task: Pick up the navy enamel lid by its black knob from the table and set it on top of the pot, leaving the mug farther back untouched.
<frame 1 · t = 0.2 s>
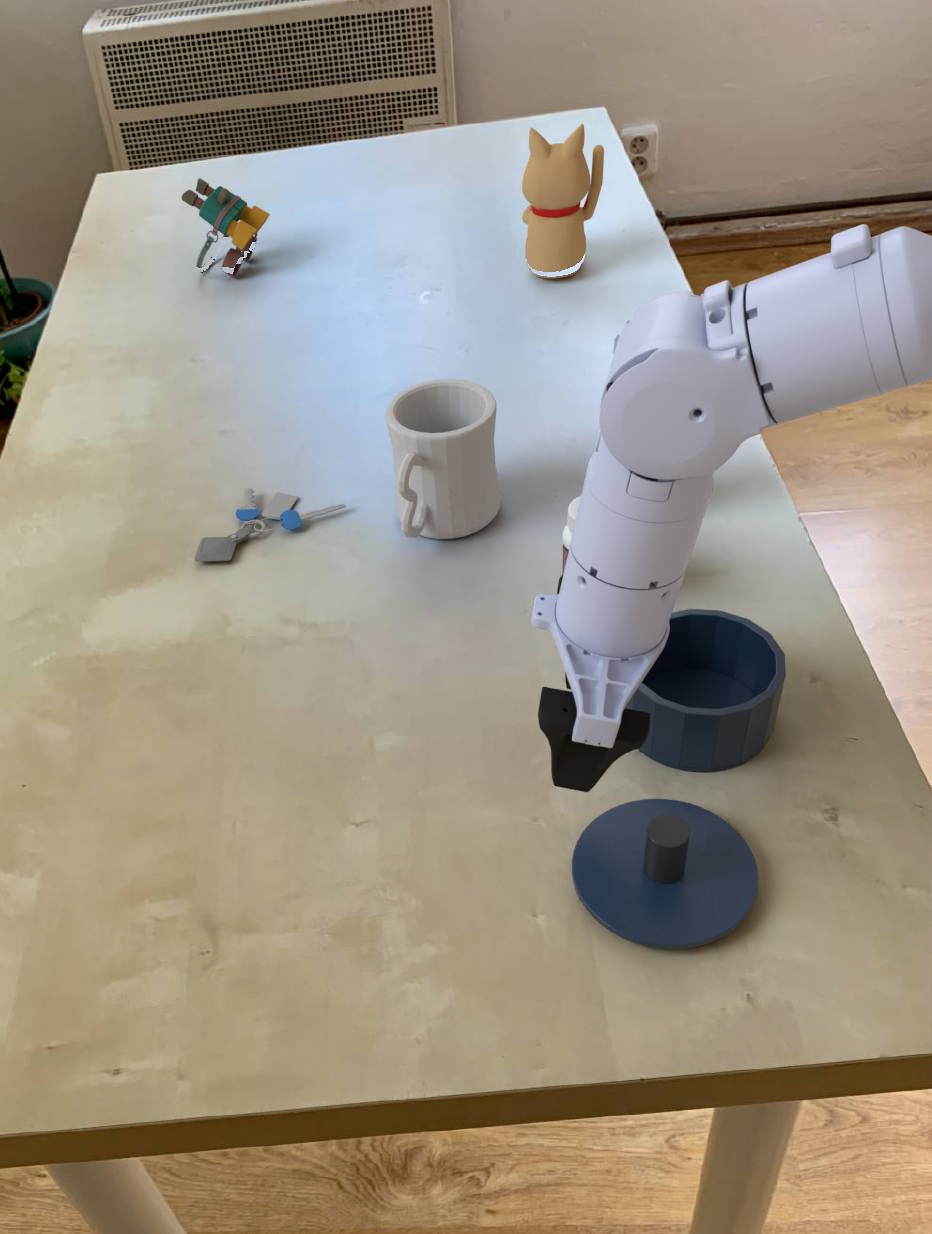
hand: (577, 734, 63), 8 cm above the table, tool pointing down, fingers open, 7 cm apart
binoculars: (238, 270, 133), on the table
pill bottle: (592, 600, 84), on the table
pot: (695, 717, 75), on the table
beverage can: (646, 509, 91), on the table
lid: (662, 872, 66), point 1 cm above the table
figurine: (560, 268, 123), on the table
key chain: (257, 522, 96), on the table
mug: (440, 524, 93), on the table
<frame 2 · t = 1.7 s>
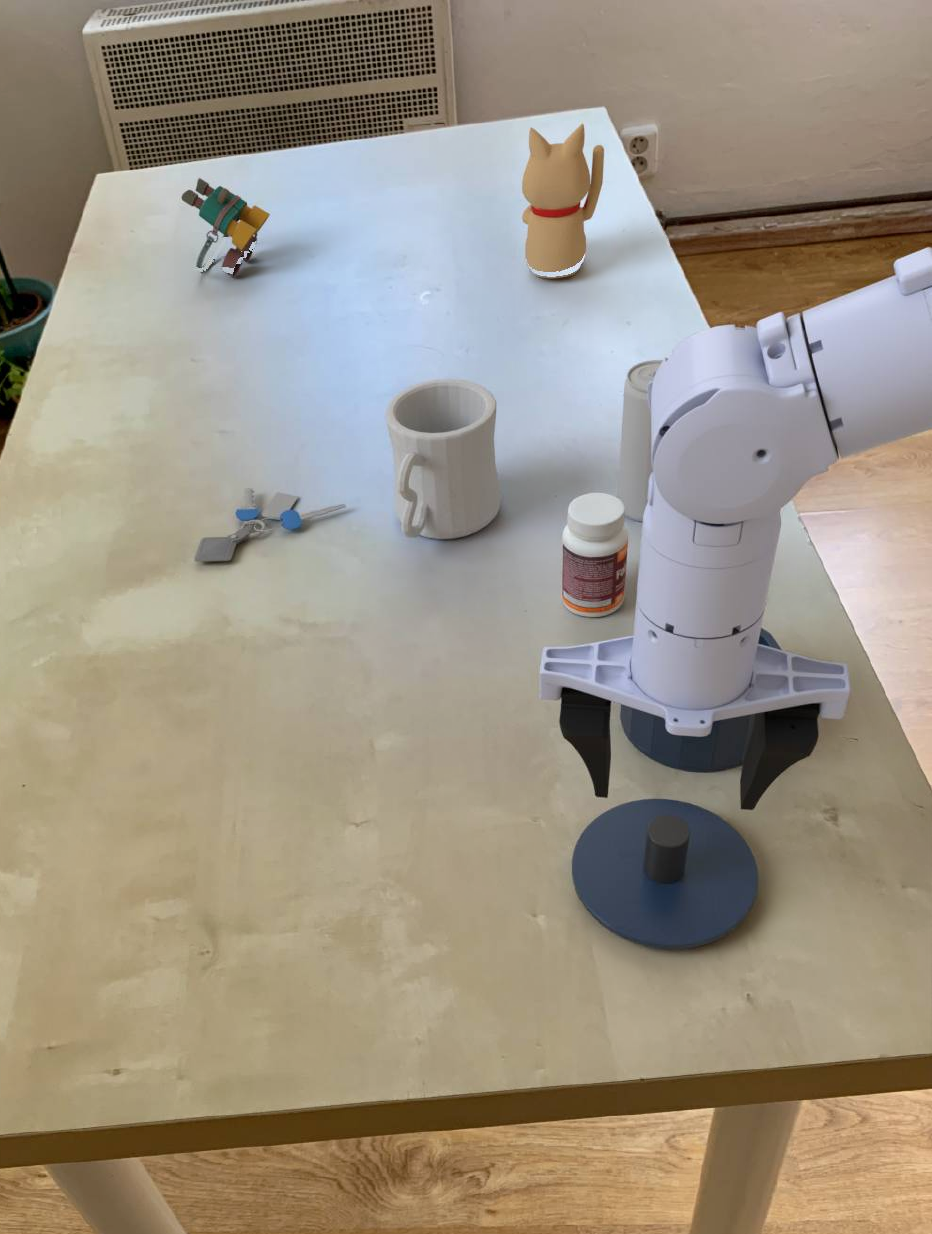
hand: (673, 789, 60), 8 cm above the table, tool pointing down, fingers open, 7 cm apart
nothing on the table moved.
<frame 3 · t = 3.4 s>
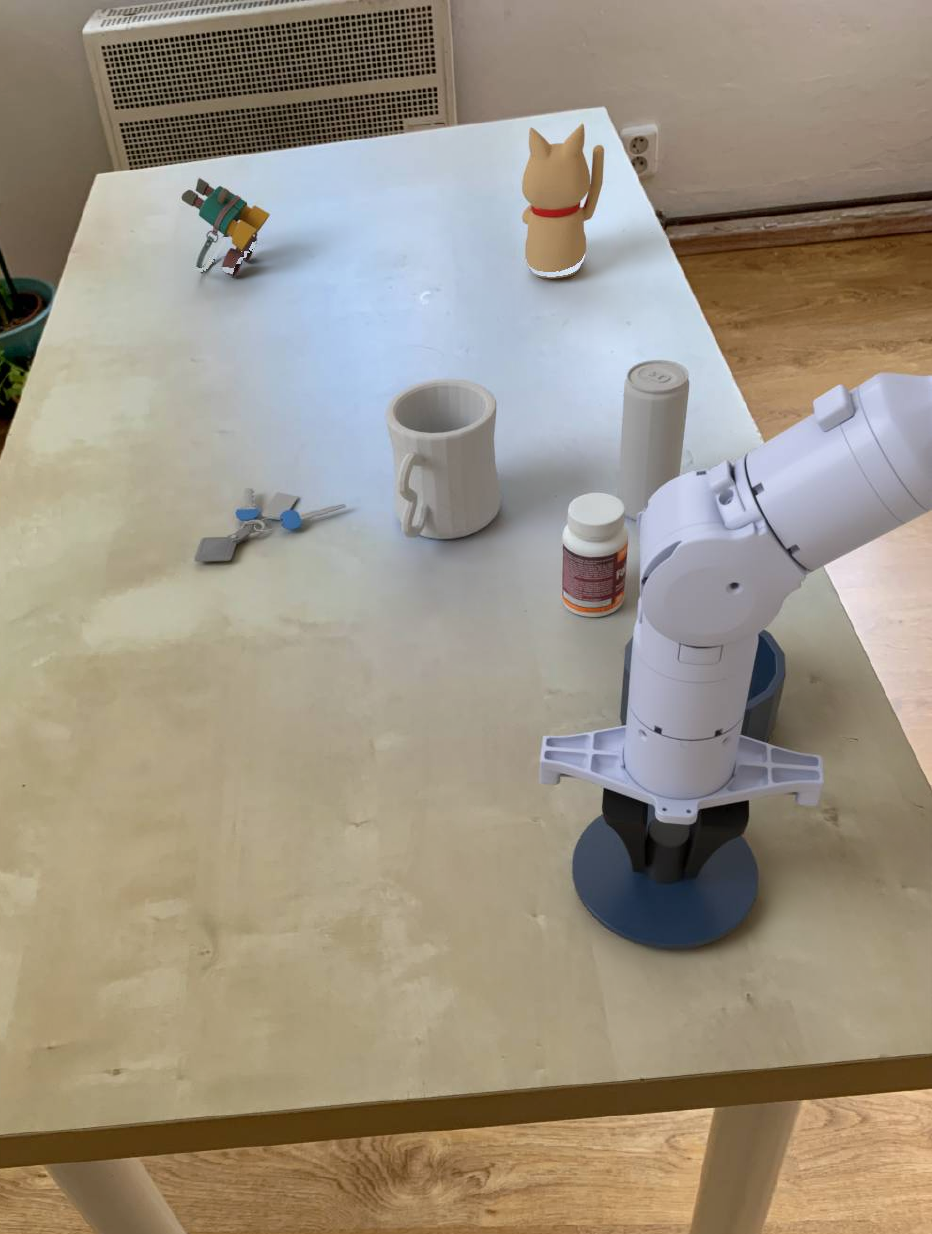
hand: (664, 861, 65), 2 cm above the table, tool pointing down, fingers closed on lid, 2 cm apart
lid: (663, 872, 66), point 1 cm above the table, touching gripper
everything else where it was.
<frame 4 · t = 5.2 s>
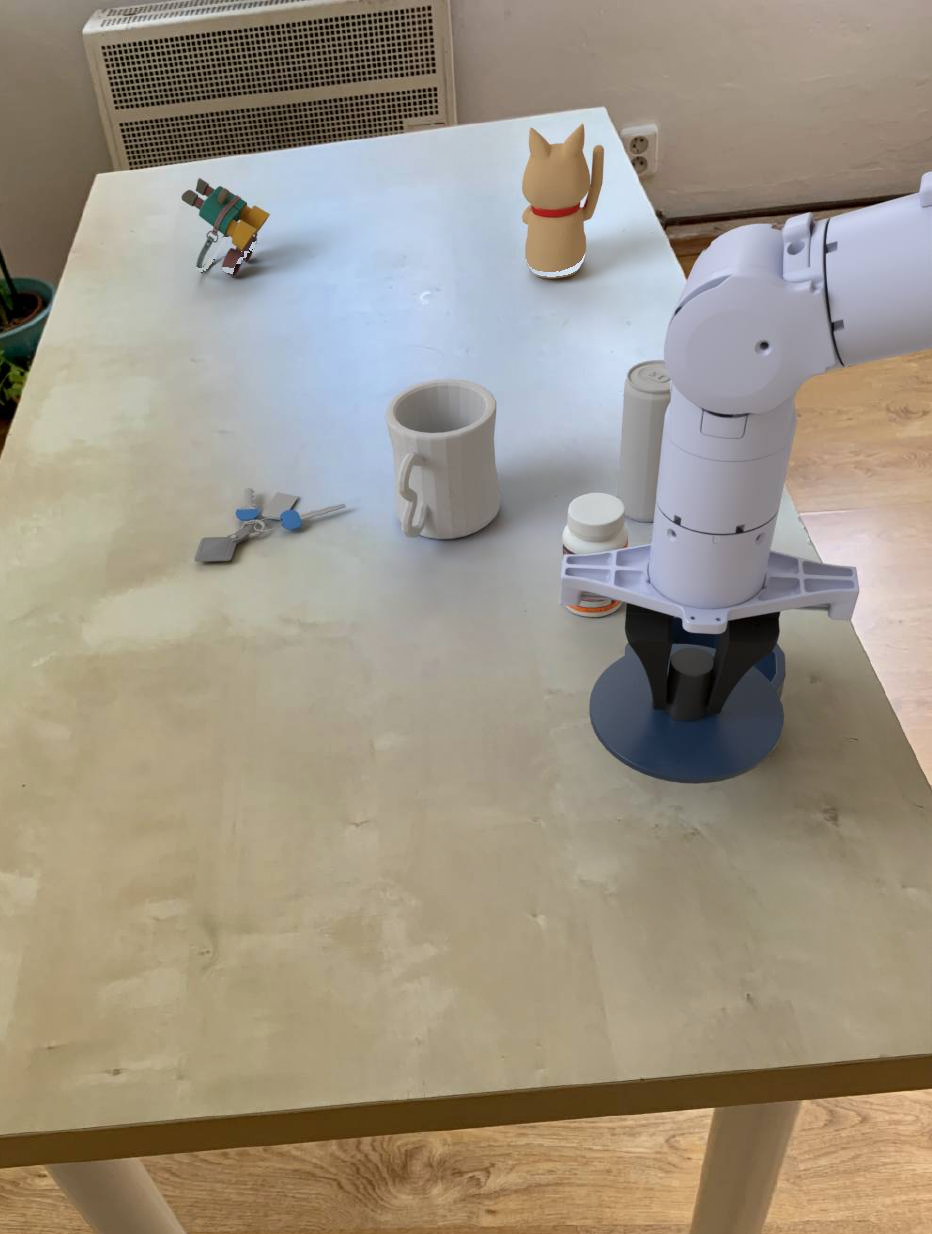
hand: (685, 699, 62), 10 cm above the table, tool pointing down, fingers closed on lid, 2 cm apart
lid: (684, 713, 63), point 9 cm above the table, touching gripper
everything else where it was.
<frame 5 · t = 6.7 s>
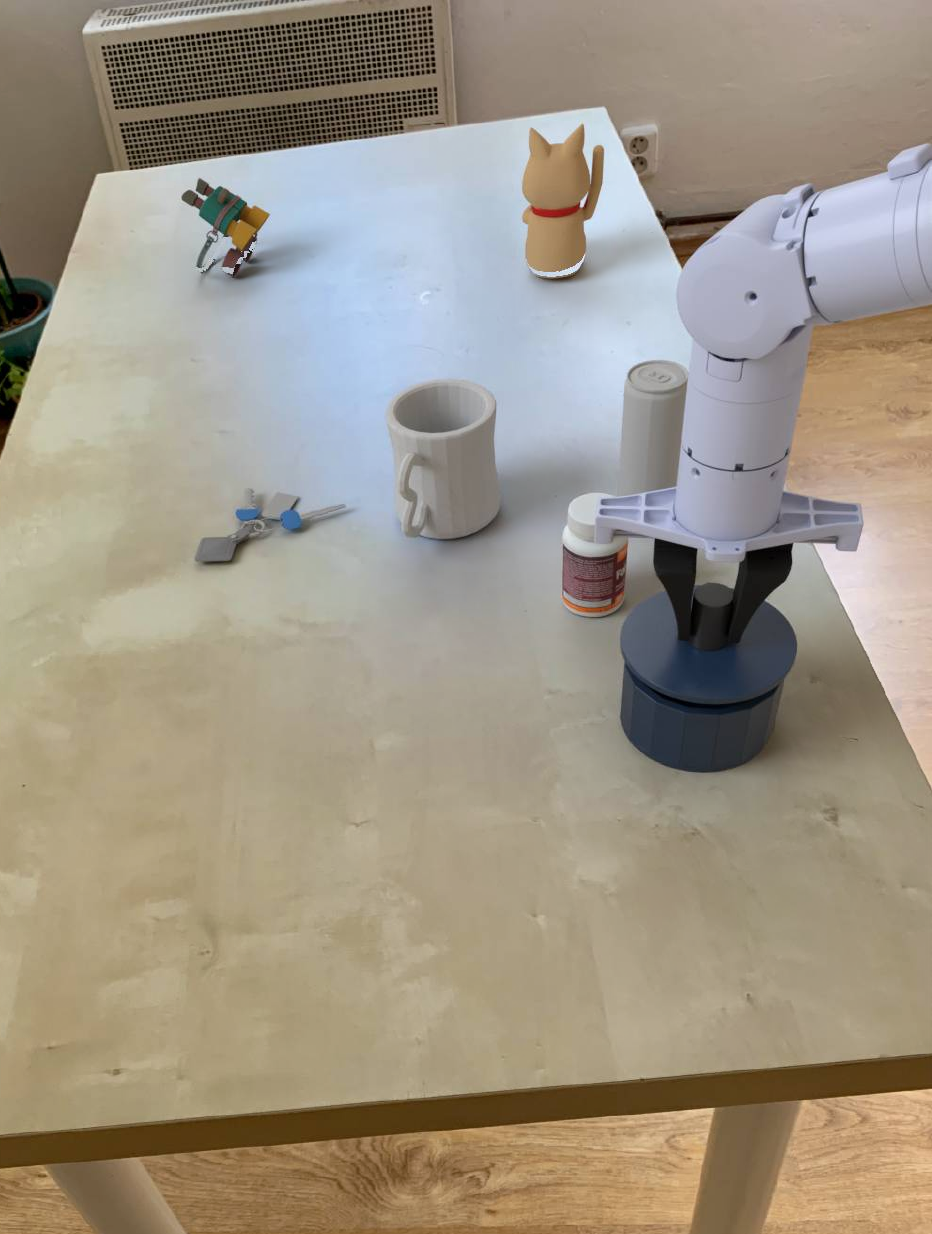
hand: (707, 631, 69), 8 cm above the table, tool pointing down, fingers closed on lid, 2 cm apart
lid: (706, 644, 70), point 7 cm above the table, touching gripper
everything else where it was.
when the fingers open (6 cm above the table, at t = 7.4 s): lid stays where it is, resting on pot.
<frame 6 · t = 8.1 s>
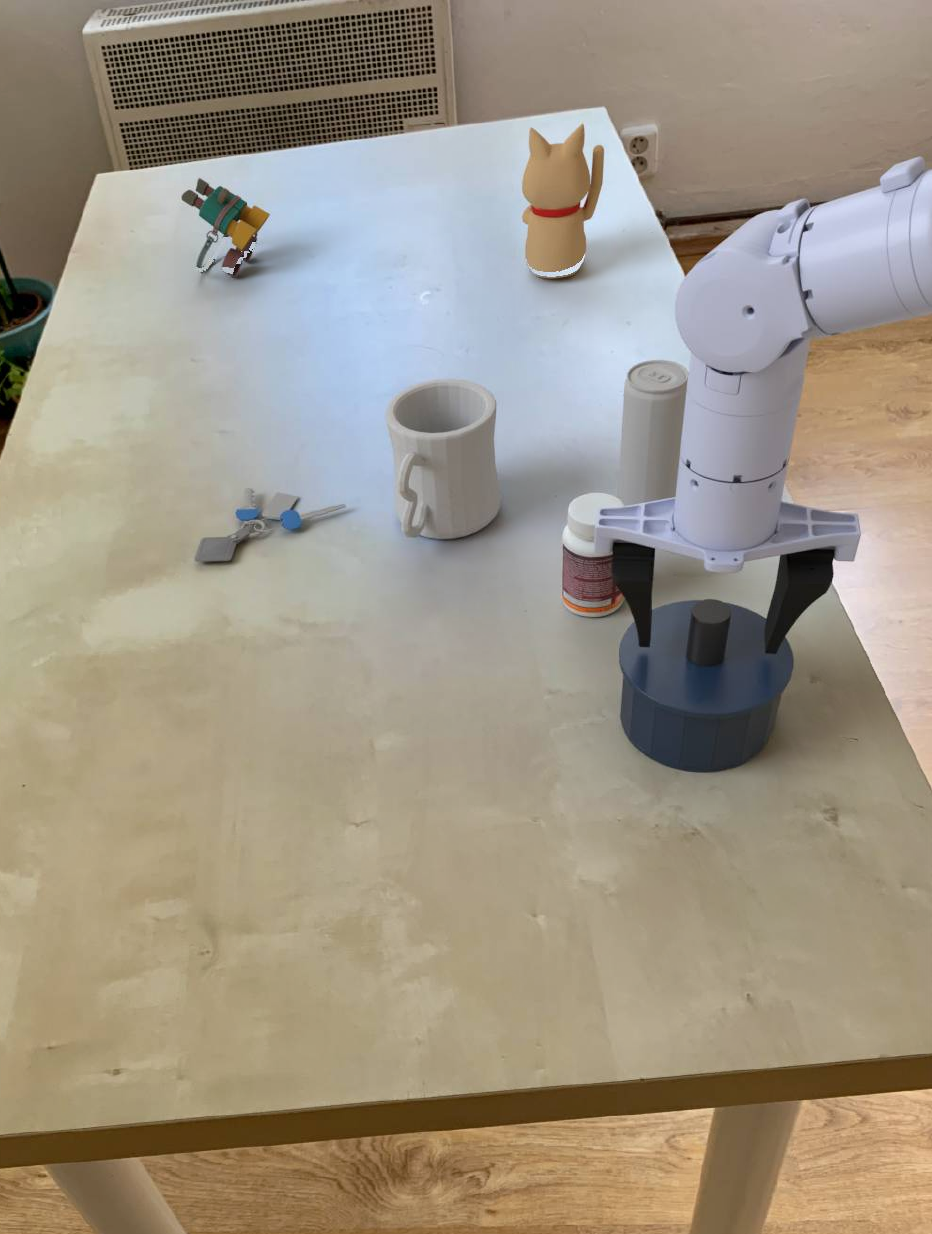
hand: (706, 640, 69), 7 cm above the table, tool pointing down, fingers open, 7 cm apart
lid: (704, 659, 71), point 5 cm above the table, touching pot
everything else where it was.
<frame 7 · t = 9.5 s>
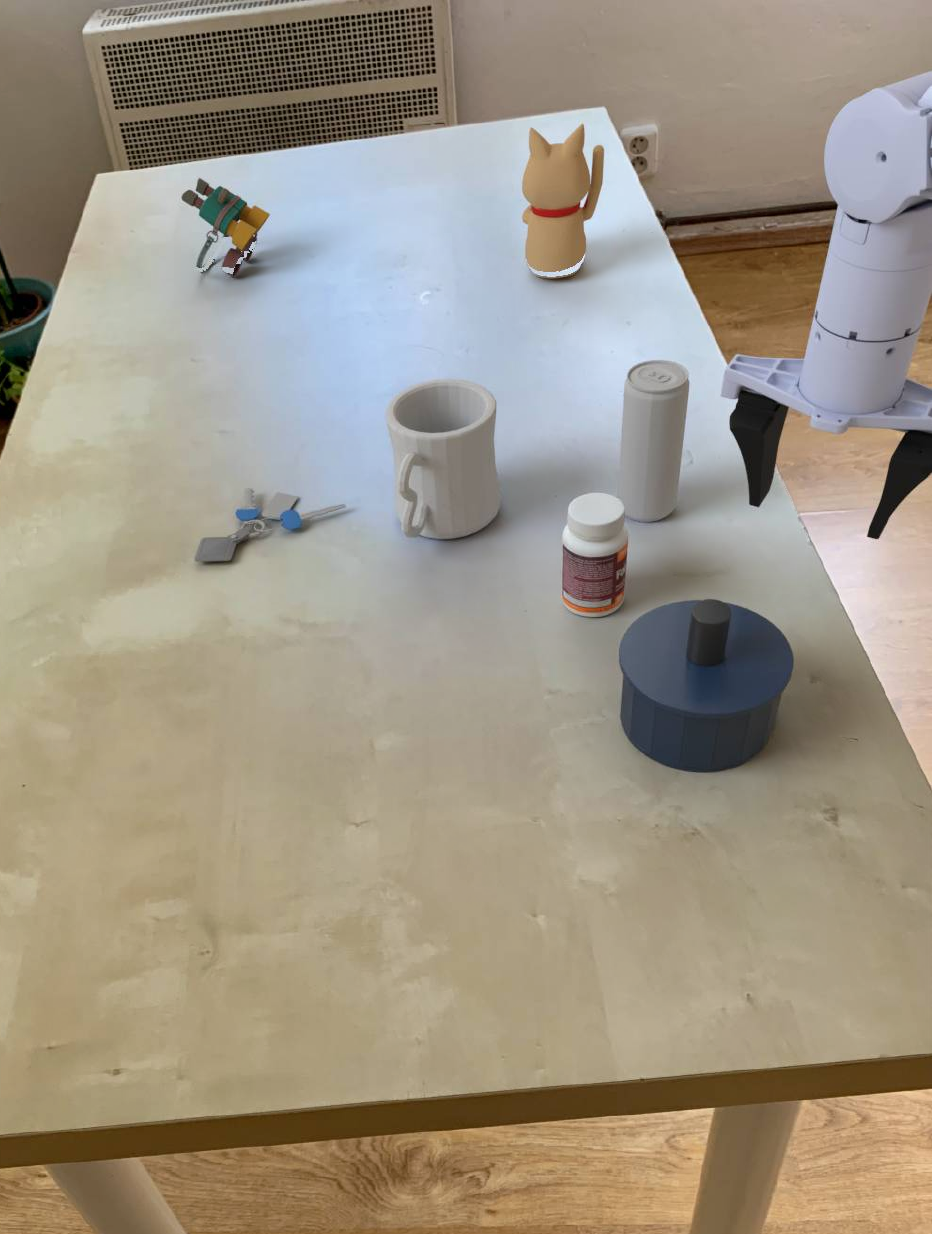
hand: (816, 513, 71), 10 cm above the table, tool pointing down, fingers open, 7 cm apart
nothing on the table moved.
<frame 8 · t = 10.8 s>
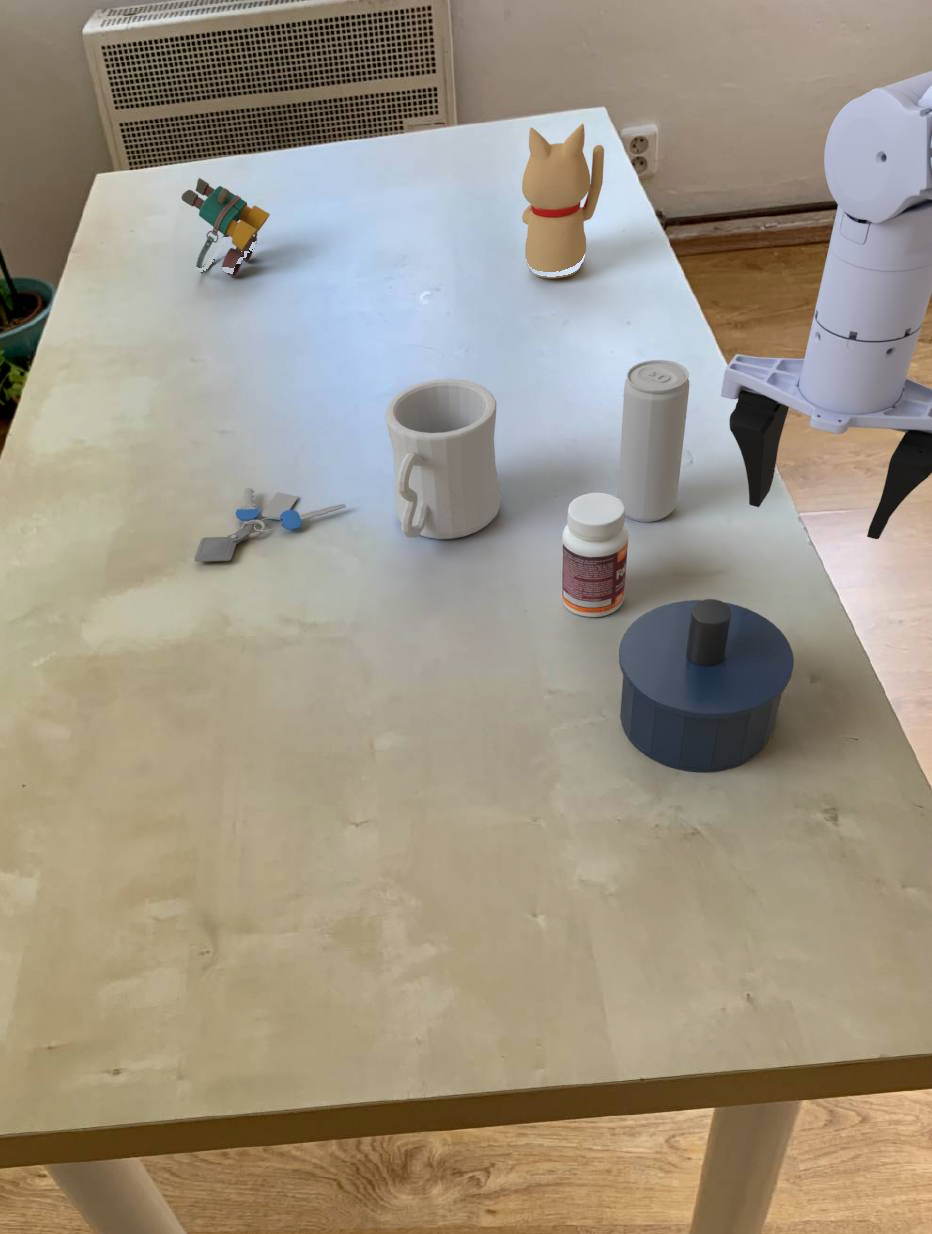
hand: (816, 513, 71), 10 cm above the table, tool pointing down, fingers open, 7 cm apart
nothing on the table moved.
at the end: lid 0.0 cm off-centre on the pot, point 5.4 cm above the pot's base; lid tilted 0°; mug moved 0.2 cm from its start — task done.
